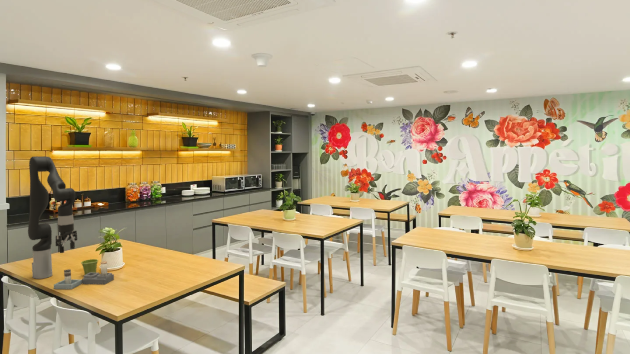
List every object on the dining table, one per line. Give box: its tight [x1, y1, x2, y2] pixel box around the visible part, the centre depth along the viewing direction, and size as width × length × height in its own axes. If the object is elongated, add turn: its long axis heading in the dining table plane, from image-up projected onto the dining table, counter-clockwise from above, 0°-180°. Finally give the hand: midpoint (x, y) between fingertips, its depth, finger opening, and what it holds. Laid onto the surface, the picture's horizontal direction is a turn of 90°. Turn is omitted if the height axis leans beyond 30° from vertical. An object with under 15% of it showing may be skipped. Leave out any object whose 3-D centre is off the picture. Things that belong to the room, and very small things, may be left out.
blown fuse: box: [63, 268, 72, 284], centre depth 217 cm, size 3×3×9 cm
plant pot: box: [80, 258, 99, 275], centre depth 238 cm, size 9×9×9 cm
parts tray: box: [53, 278, 83, 290], centre depth 217 cm, size 11×9×3 cm
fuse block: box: [81, 272, 115, 285], centre depth 225 cm, size 14×9×4 cm, turn 87°
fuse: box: [100, 260, 108, 276], centre depth 224 cm, size 3×3×9 cm
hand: (67, 250), depth 216 cm, fingers open, 8 cm apart
